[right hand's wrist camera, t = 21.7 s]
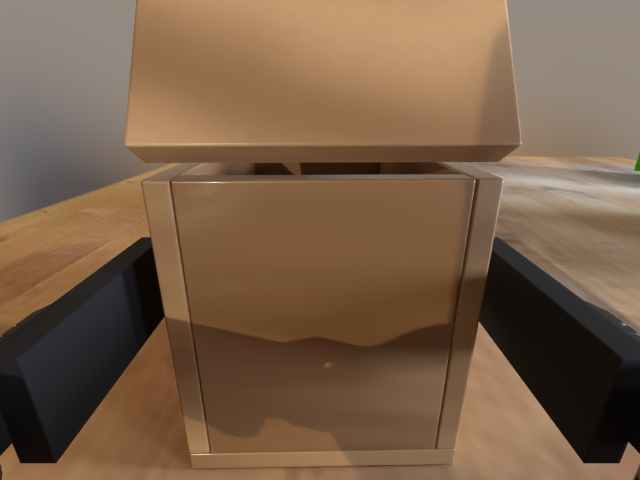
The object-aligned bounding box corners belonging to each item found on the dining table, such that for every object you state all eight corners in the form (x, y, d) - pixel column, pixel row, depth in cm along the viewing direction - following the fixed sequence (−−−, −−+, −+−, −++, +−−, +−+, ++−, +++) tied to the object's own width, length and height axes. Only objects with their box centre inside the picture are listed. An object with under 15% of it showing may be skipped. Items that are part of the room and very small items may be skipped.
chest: (253, 283, 26) (242, 136, 22) (381, 281, 26) (391, 135, 23) (191, 469, 13) (138, 180, 9) (453, 465, 13) (506, 178, 9)
